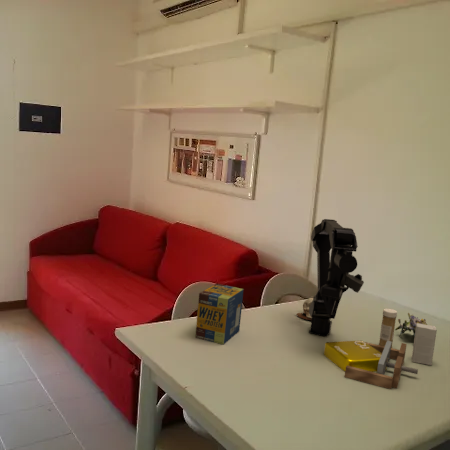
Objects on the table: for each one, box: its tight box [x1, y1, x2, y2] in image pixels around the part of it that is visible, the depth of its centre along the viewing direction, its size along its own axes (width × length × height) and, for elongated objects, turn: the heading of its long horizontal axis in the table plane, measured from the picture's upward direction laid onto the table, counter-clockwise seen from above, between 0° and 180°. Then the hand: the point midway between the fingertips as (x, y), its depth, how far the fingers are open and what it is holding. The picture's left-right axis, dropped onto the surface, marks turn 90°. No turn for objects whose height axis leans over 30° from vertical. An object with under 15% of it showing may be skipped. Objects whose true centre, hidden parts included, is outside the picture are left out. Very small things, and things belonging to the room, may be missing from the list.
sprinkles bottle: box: [378, 308, 398, 348], centre depth 170 cm, size 5×5×13 cm
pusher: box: [376, 341, 419, 375], centre depth 150 cm, size 10×21×6 cm, turn 155°
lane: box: [344, 341, 407, 390], centre depth 152 cm, size 14×25×6 cm, turn 155°
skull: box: [296, 297, 315, 321], centre depth 197 cm, size 12×10×10 cm
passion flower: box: [394, 312, 428, 338], centre depth 181 cm, size 11×11×12 cm
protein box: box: [195, 283, 245, 345], centre depth 168 cm, size 10×15×16 cm
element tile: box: [323, 340, 389, 373], centre depth 156 cm, size 15×15×5 cm
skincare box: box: [411, 323, 437, 366], centre depth 160 cm, size 6×4×12 cm
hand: (332, 311), depth 165 cm, fingers open, 9 cm apart
